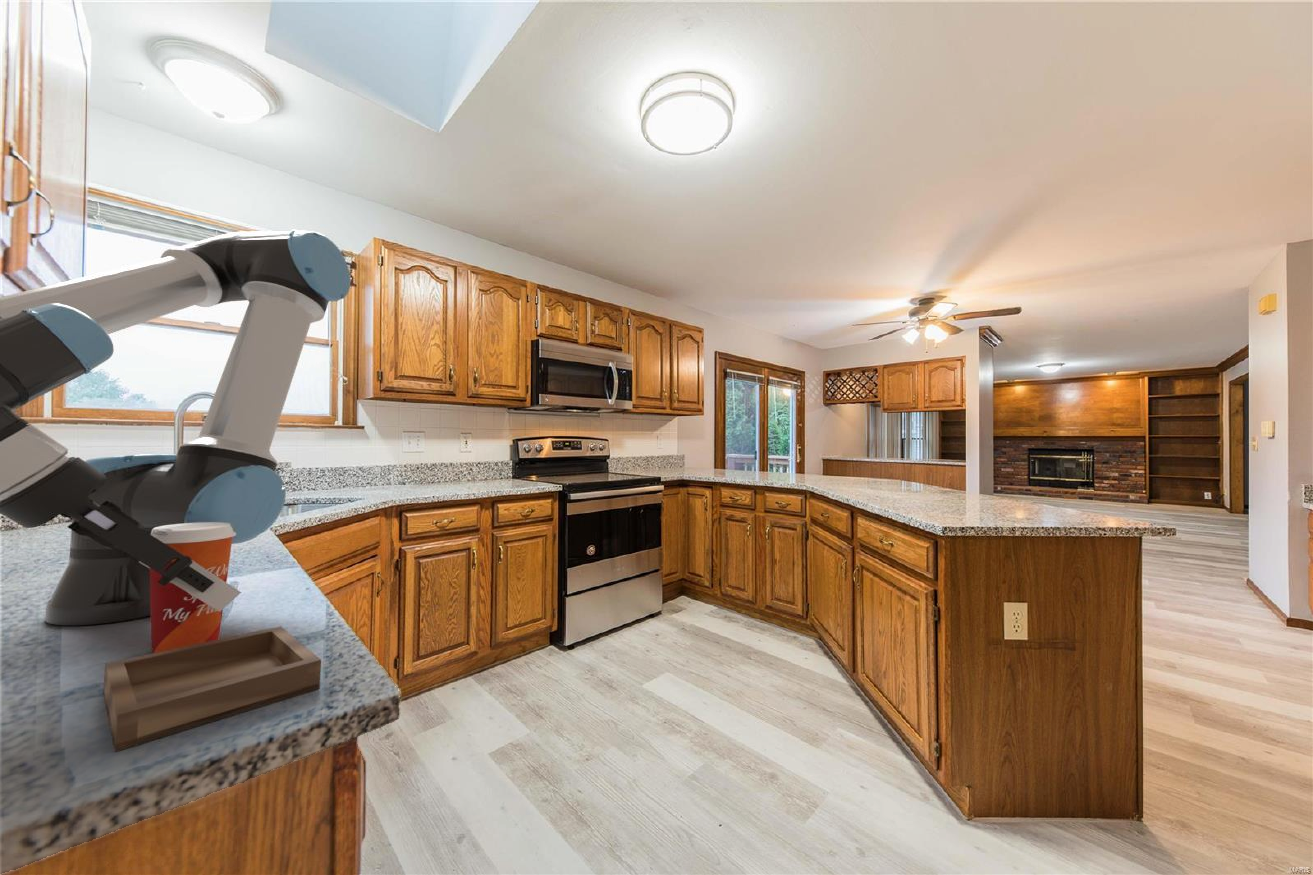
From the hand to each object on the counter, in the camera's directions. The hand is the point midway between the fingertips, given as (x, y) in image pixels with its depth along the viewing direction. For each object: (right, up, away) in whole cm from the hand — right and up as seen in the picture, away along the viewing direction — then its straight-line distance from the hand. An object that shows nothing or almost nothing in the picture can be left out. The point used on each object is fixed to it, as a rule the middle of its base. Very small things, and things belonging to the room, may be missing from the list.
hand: (212, 591), depth 62 cm
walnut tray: (+12, -6, -13) cm, 19 cm away
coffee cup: (-1, -6, -2) cm, 7 cm away
